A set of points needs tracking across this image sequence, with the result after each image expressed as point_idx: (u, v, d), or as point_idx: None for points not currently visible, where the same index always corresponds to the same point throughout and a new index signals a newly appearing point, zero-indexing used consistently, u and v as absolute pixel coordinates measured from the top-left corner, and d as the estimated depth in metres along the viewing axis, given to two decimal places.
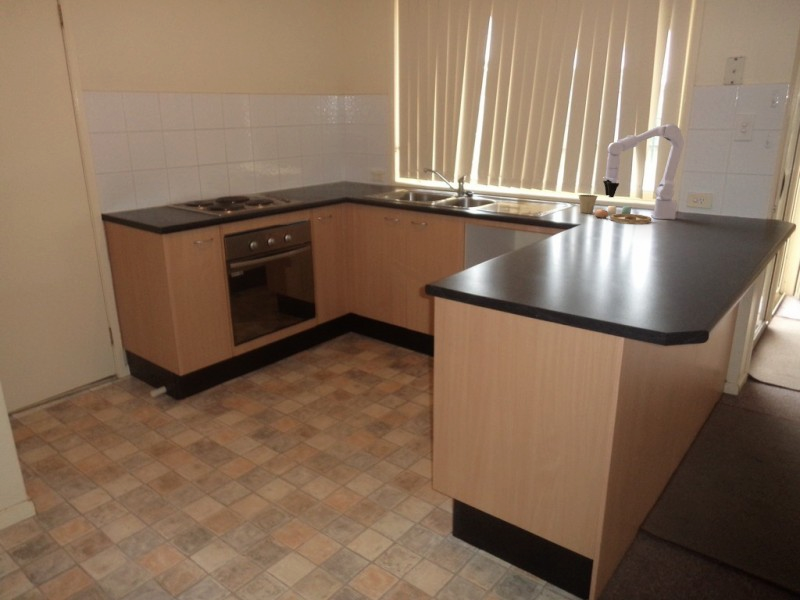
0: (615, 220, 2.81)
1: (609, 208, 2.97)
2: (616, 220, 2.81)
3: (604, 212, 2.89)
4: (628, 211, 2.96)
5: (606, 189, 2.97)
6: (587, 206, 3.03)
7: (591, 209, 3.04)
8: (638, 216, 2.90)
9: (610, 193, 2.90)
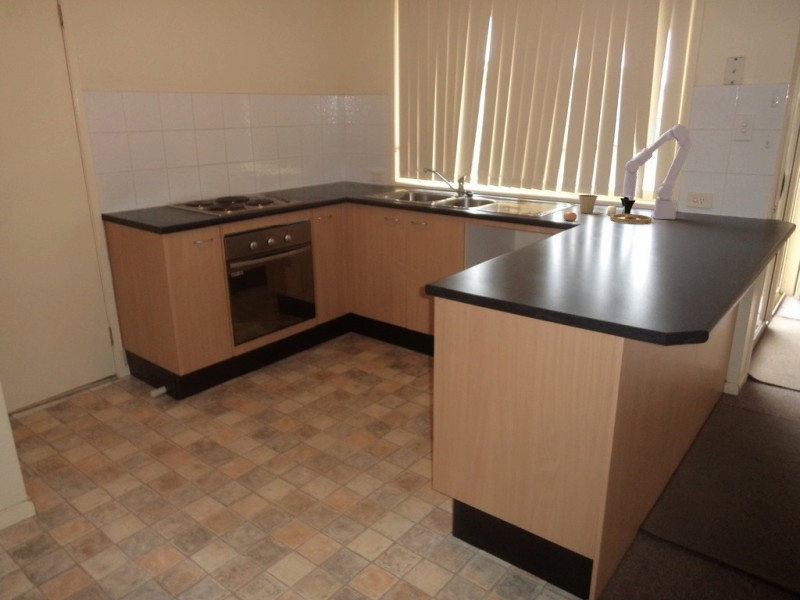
0: (615, 220, 2.81)
1: (609, 208, 2.97)
2: (616, 220, 2.81)
3: (574, 218, 2.82)
4: None
5: None
6: (587, 206, 3.03)
7: (591, 209, 3.04)
8: (638, 216, 2.90)
9: (626, 210, 2.95)
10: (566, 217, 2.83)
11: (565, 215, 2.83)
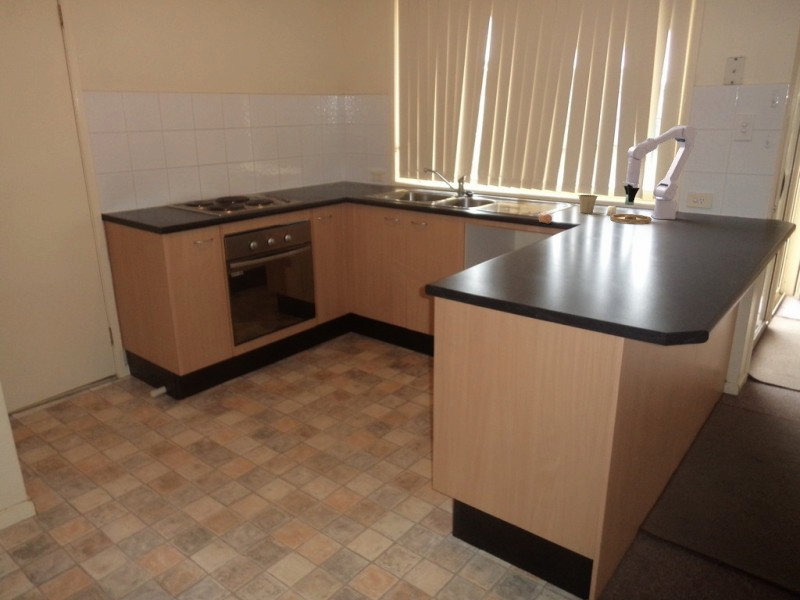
0: (615, 220, 2.81)
1: (609, 208, 2.97)
2: (616, 220, 2.81)
3: (549, 217, 2.75)
4: None
5: (627, 194, 2.89)
6: (587, 206, 3.03)
7: (591, 209, 3.04)
8: (638, 216, 2.90)
9: (630, 198, 2.84)
10: (544, 222, 2.78)
11: None
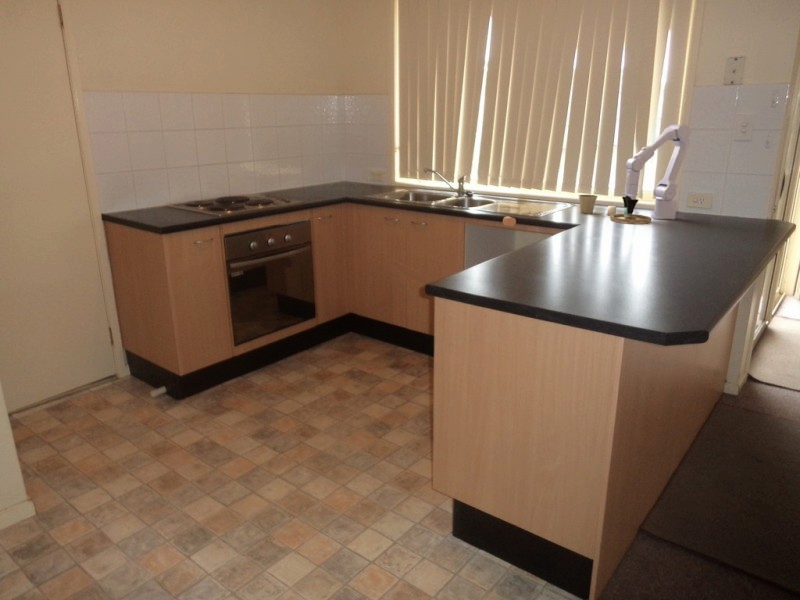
0: (615, 220, 2.81)
1: (609, 208, 2.97)
2: (616, 220, 2.81)
3: (512, 224, 2.67)
4: None
5: (625, 205, 2.91)
6: (587, 206, 3.03)
7: (591, 209, 3.04)
8: (638, 216, 2.90)
9: (629, 209, 2.85)
10: (506, 219, 2.67)
11: (506, 217, 2.68)
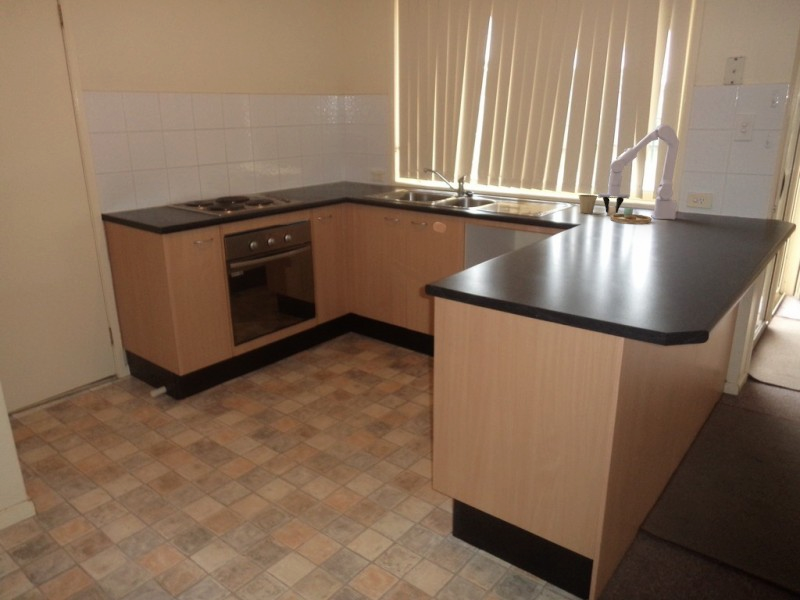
0: (615, 220, 2.81)
1: (609, 208, 2.97)
2: (616, 220, 2.81)
3: (441, 230, 2.51)
4: (630, 212, 2.87)
5: (616, 206, 2.99)
6: (587, 206, 3.03)
7: (591, 209, 3.04)
8: (638, 216, 2.90)
9: None
10: (437, 223, 2.52)
11: (438, 222, 2.53)
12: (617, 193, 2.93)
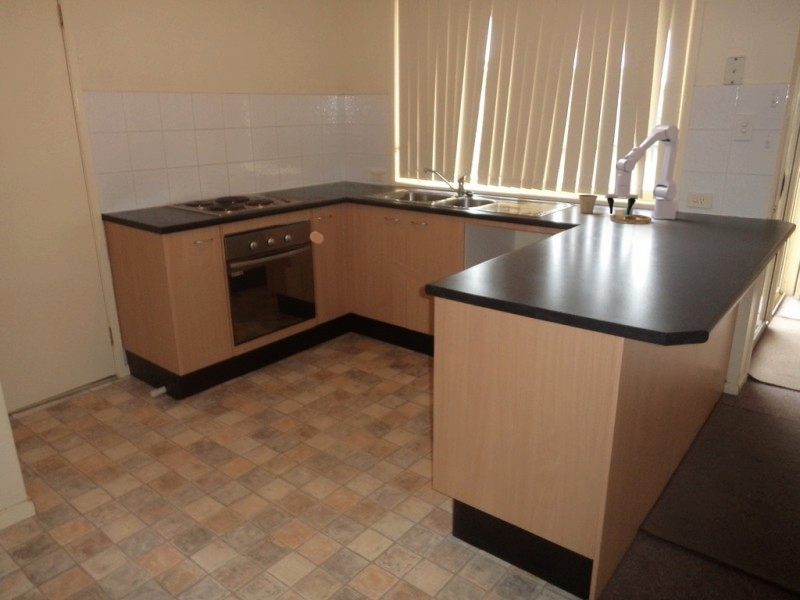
0: (615, 220, 2.81)
1: (617, 211, 2.83)
2: (616, 220, 2.81)
3: (320, 236, 2.28)
4: (630, 212, 2.87)
5: None
6: (587, 206, 3.03)
7: (591, 209, 3.04)
8: (638, 216, 2.90)
9: (610, 209, 2.85)
10: None
11: None
12: (625, 193, 2.79)
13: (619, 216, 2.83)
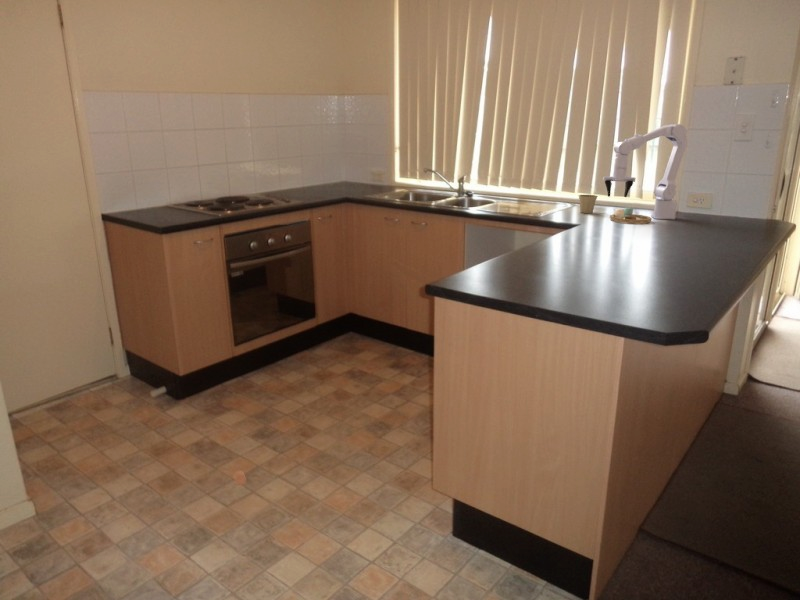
0: (615, 220, 2.81)
1: (617, 211, 2.83)
2: (616, 220, 2.81)
3: (239, 478, 2.34)
4: (630, 212, 2.87)
5: (625, 190, 2.88)
6: (587, 206, 3.03)
7: (591, 209, 3.04)
8: (638, 216, 2.90)
9: None
10: None
11: None
12: (623, 176, 2.83)
13: (619, 216, 2.83)
